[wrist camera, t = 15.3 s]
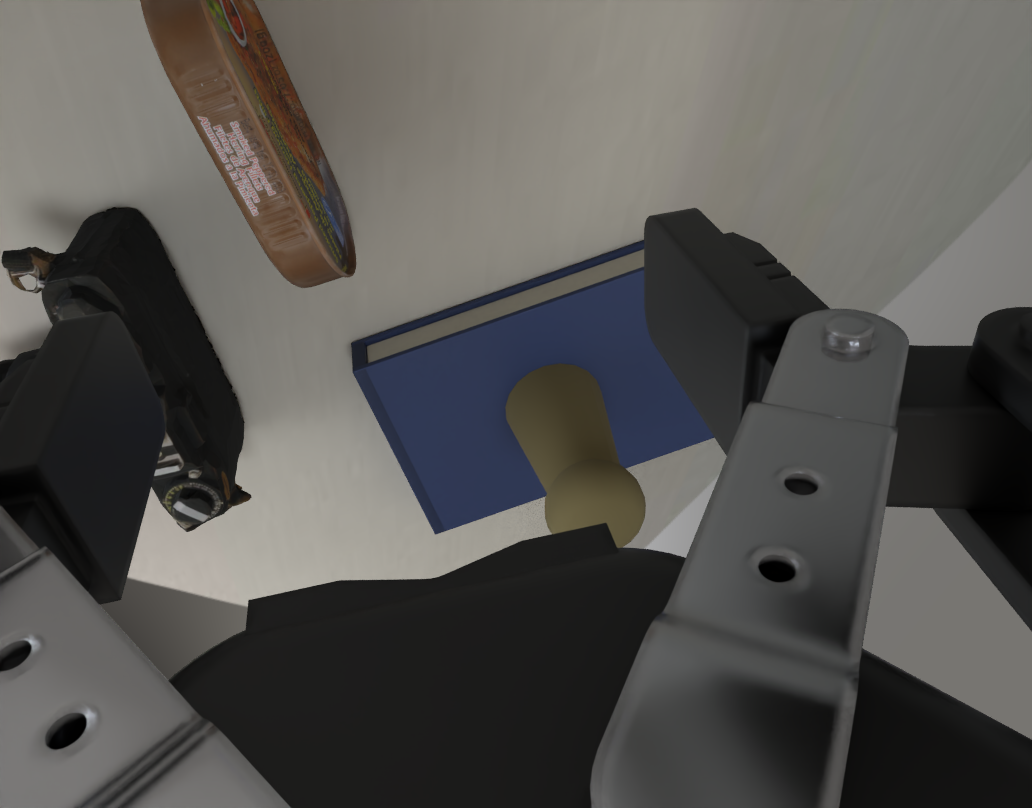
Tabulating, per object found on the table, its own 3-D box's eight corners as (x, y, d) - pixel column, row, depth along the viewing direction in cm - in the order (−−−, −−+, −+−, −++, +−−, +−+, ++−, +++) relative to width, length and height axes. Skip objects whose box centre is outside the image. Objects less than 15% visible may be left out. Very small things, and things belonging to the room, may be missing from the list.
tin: (359, 231, 43) (365, 304, 36) (305, 250, 43) (300, 327, 36) (218, -80, 33) (190, -60, 27) (149, -54, 33) (104, -28, 27)
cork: (536, 459, 50) (579, 591, 41) (486, 398, 47) (523, 528, 38) (617, 411, 49) (680, 535, 40) (573, 345, 46) (631, 465, 37)
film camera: (-98, 290, 40) (-204, 403, 32) (98, 163, 38) (38, 249, 30) (158, 499, 50) (126, 623, 42) (319, 407, 49) (318, 518, 41)
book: (430, 502, 55) (435, 534, 52) (351, 342, 46) (352, 372, 44) (701, 408, 55) (719, 436, 52) (671, 230, 46) (691, 253, 44)
